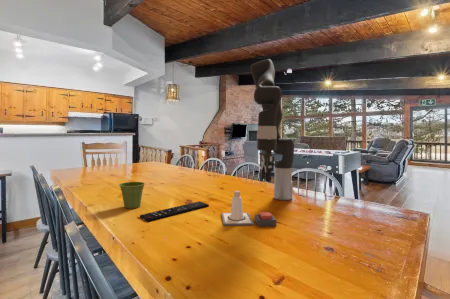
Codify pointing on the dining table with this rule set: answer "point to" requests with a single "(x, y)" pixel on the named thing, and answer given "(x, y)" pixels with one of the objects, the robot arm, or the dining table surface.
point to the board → (236, 220)
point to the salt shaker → (236, 206)
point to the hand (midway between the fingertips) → (266, 180)
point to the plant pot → (132, 194)
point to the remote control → (173, 211)
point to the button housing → (265, 221)
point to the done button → (265, 215)
